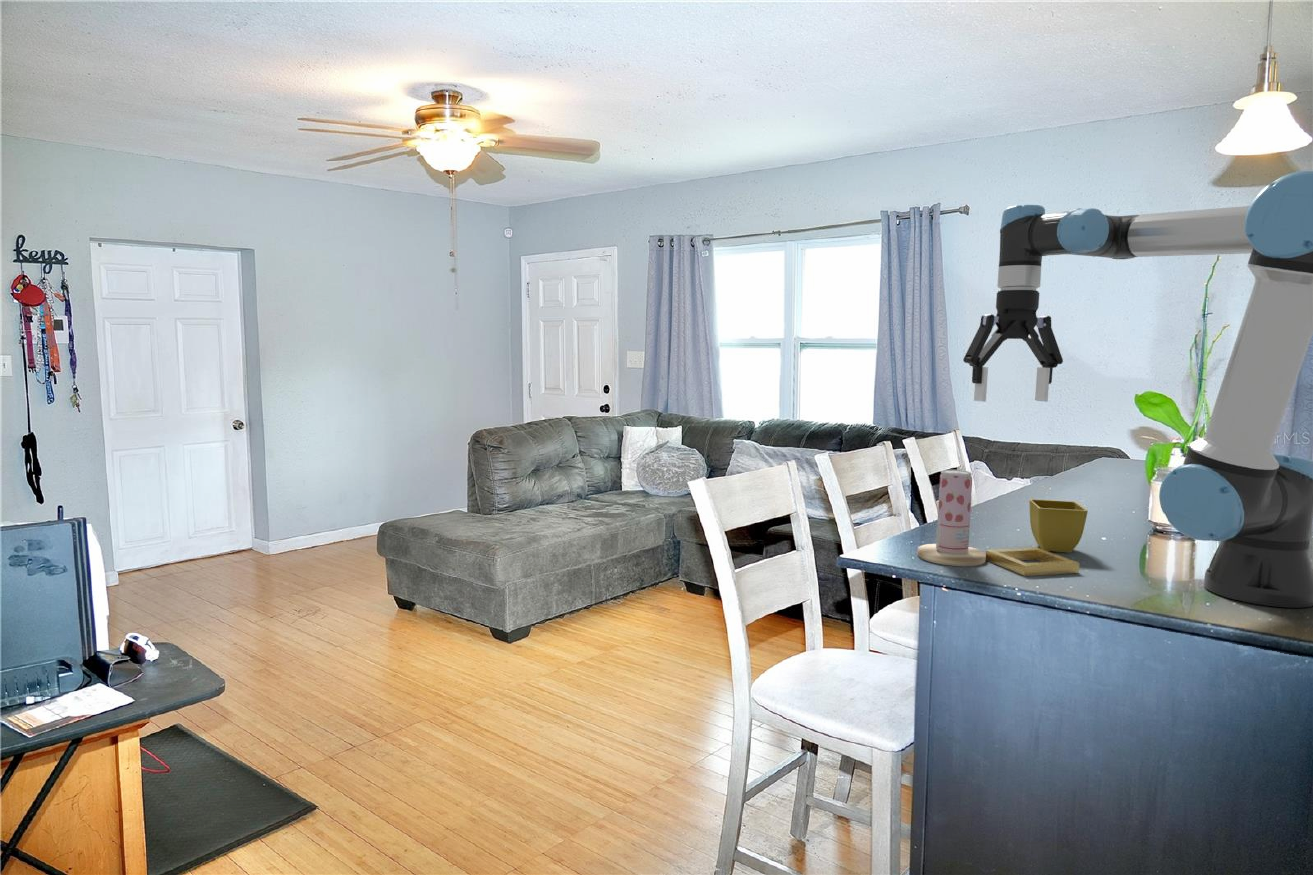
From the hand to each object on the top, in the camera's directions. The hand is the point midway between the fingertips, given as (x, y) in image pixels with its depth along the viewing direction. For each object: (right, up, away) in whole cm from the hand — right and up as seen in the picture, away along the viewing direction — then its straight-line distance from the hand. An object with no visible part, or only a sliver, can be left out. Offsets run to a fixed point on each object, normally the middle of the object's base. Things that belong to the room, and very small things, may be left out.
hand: (1010, 401), depth 165 cm
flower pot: (+9, -29, +2) cm, 31 cm away
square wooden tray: (-1, -30, -11) cm, 32 cm away
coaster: (-14, -29, -6) cm, 33 cm away
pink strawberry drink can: (-14, -28, -6) cm, 32 cm away
